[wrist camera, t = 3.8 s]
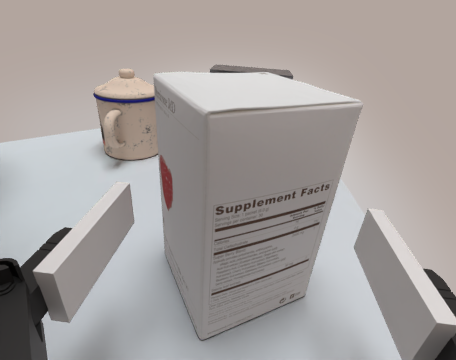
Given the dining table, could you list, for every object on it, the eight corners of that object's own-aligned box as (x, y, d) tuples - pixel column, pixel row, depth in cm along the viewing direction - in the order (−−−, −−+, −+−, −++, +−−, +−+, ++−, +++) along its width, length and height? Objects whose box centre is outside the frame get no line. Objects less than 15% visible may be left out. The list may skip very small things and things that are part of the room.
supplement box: (161, 251, 25) (148, 70, 17) (249, 227, 28) (269, 70, 21) (197, 346, 18) (202, 107, 10) (309, 298, 21) (369, 98, 14)
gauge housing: (197, 170, 38) (198, 79, 33) (212, 134, 52) (215, 64, 46) (307, 181, 38) (328, 89, 32) (294, 141, 51) (307, 71, 45)
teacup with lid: (118, 136, 48) (109, 63, 42) (171, 141, 47) (168, 68, 42) (79, 167, 37) (59, 74, 32) (146, 173, 37) (138, 81, 31)
